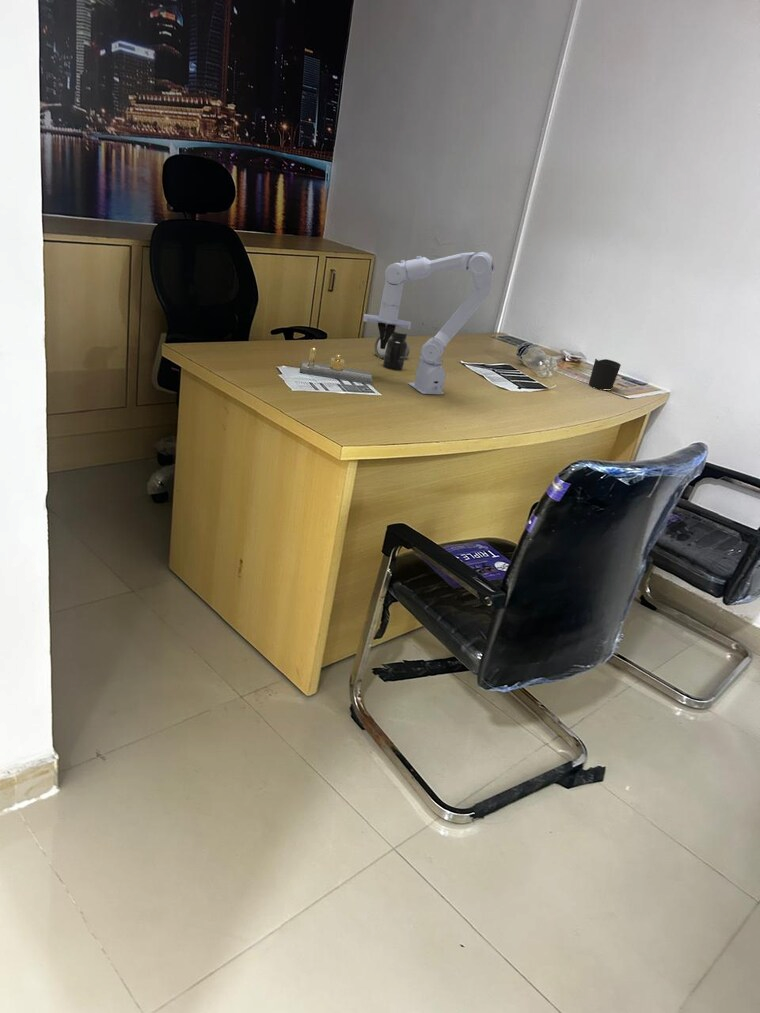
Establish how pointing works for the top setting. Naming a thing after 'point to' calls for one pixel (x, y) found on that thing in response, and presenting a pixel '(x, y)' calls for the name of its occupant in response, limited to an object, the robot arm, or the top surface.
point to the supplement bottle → (395, 351)
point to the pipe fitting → (381, 352)
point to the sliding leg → (337, 363)
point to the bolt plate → (334, 371)
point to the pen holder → (604, 374)
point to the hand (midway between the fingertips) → (382, 348)
